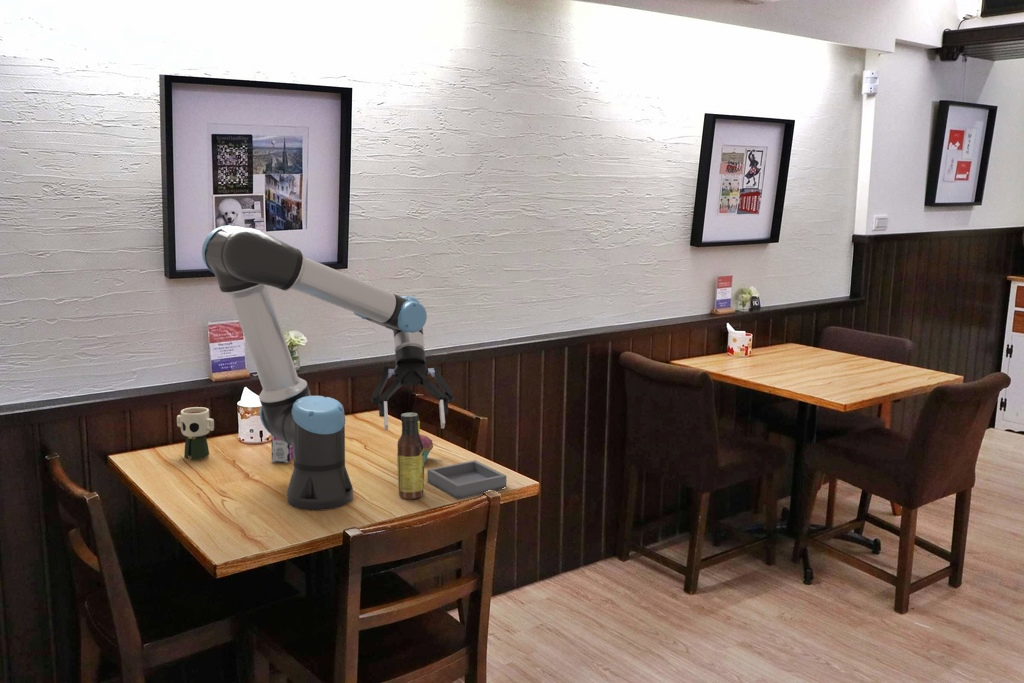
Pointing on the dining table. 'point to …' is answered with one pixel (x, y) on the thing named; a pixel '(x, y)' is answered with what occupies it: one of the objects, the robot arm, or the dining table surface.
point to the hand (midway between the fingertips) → (414, 427)
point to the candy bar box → (281, 451)
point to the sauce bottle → (410, 459)
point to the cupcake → (425, 443)
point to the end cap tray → (466, 479)
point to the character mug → (195, 431)
